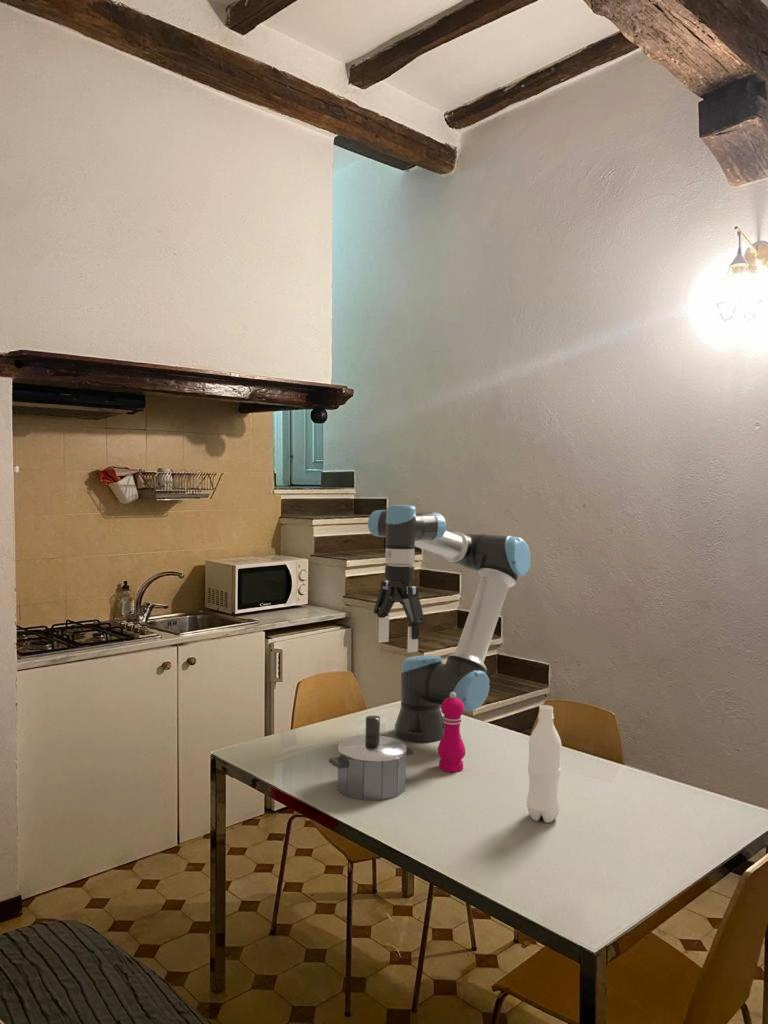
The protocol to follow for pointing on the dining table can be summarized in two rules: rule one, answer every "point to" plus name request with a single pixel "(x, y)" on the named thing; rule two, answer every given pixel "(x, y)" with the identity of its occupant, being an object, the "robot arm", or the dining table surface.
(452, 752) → the pepper mill
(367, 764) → the pot
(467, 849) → the dining table surface
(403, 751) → the lid
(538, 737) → the water bottle
